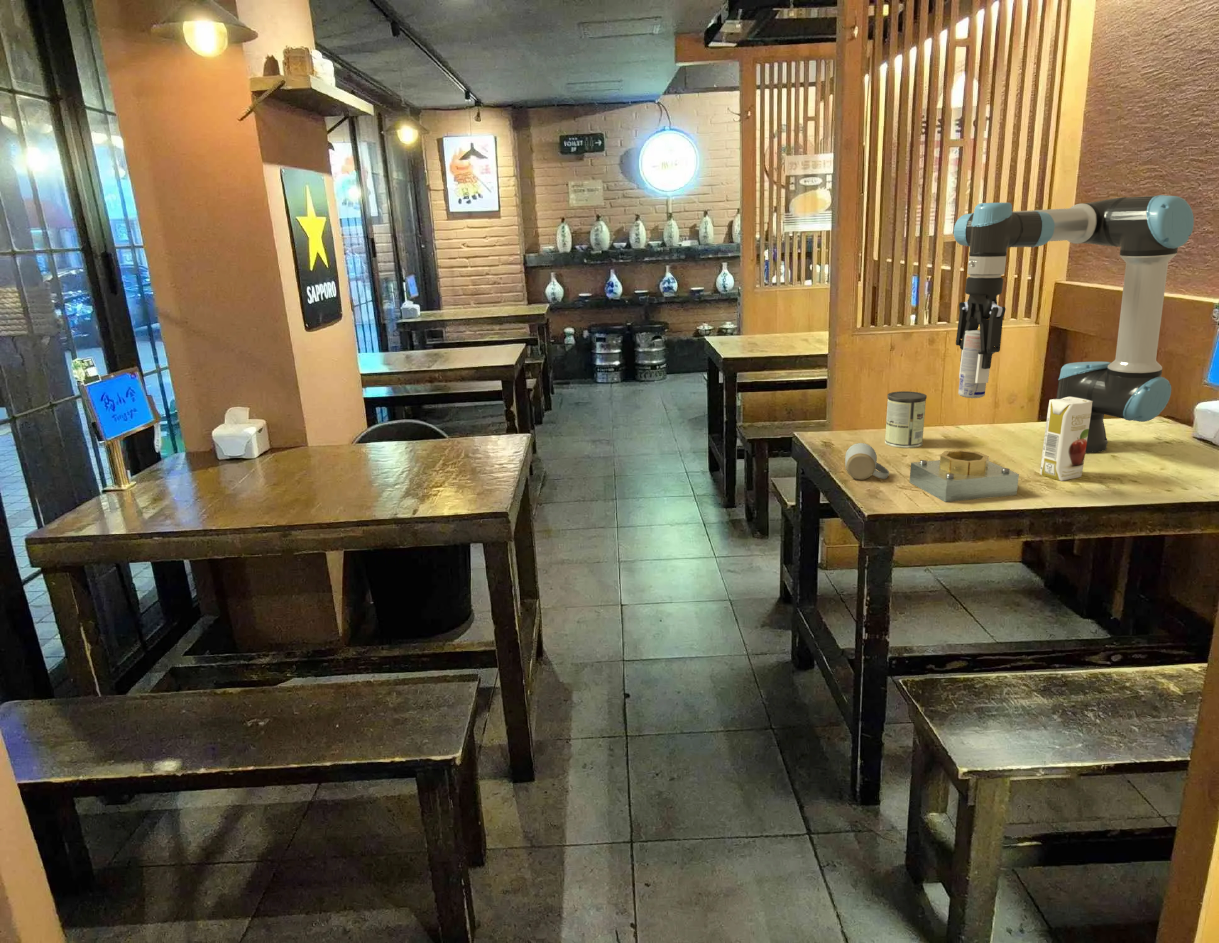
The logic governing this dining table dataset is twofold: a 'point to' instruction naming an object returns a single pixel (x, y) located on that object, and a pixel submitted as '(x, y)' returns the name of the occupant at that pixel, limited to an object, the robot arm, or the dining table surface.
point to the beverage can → (970, 366)
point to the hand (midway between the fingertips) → (973, 380)
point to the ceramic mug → (863, 462)
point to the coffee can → (905, 419)
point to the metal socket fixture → (963, 477)
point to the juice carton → (1065, 438)
